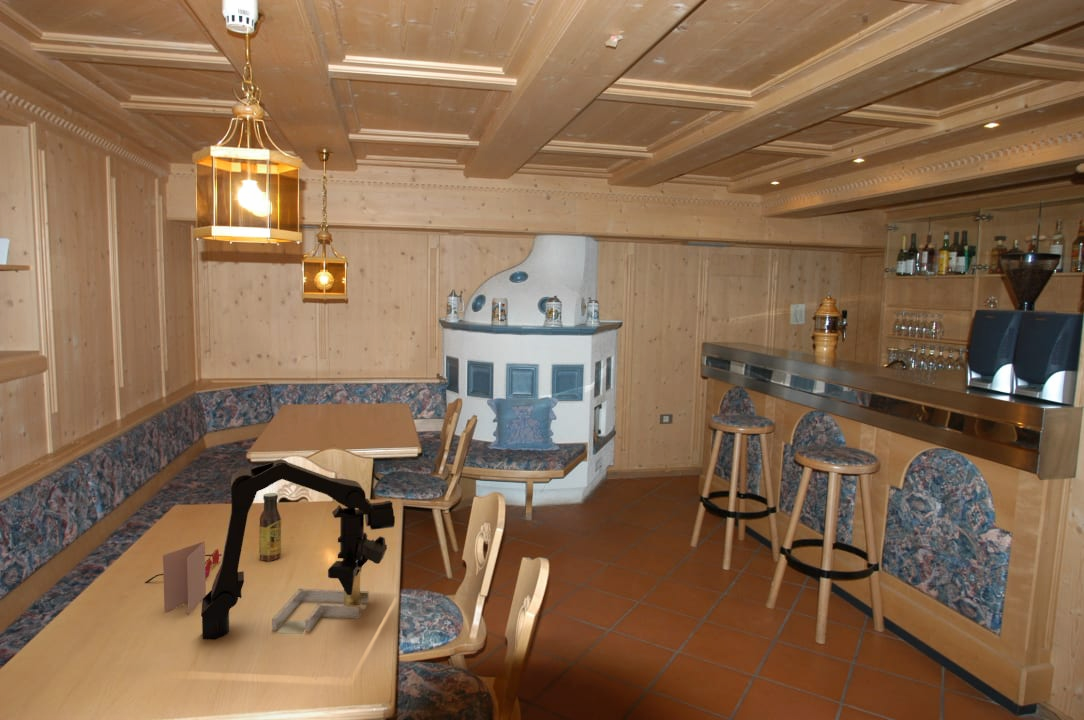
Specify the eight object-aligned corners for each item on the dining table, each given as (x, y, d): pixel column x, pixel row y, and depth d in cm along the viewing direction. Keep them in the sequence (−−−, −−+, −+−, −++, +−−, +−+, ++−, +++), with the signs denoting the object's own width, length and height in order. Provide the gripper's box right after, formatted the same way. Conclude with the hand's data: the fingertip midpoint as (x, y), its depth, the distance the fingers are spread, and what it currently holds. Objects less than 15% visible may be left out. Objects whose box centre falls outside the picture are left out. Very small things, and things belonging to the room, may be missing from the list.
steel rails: (349, 633, 159) (349, 621, 158) (272, 630, 159) (271, 618, 159) (368, 602, 175) (368, 591, 175) (299, 599, 176) (298, 588, 175)
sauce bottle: (273, 562, 202) (272, 498, 200) (254, 560, 203) (253, 497, 201) (285, 554, 208) (285, 492, 206) (267, 552, 209) (267, 490, 207)
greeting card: (203, 594, 180) (202, 540, 178) (221, 601, 176) (220, 546, 175) (162, 611, 170) (160, 554, 168) (180, 618, 166) (179, 560, 165)
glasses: (207, 581, 188) (207, 564, 188) (144, 584, 186) (143, 567, 185) (222, 562, 202) (222, 546, 202) (163, 564, 199) (162, 548, 199)
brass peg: (357, 609, 169) (357, 571, 168) (341, 609, 169) (341, 570, 168) (362, 602, 173) (362, 565, 172) (346, 602, 173) (346, 564, 172)
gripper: (373, 546, 159) (373, 609, 161) (392, 520, 178) (392, 577, 179) (327, 544, 160) (327, 607, 161) (351, 519, 178) (351, 575, 180)
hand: (351, 591), depth 170 cm, fingers closed on brass peg, 4 cm apart
